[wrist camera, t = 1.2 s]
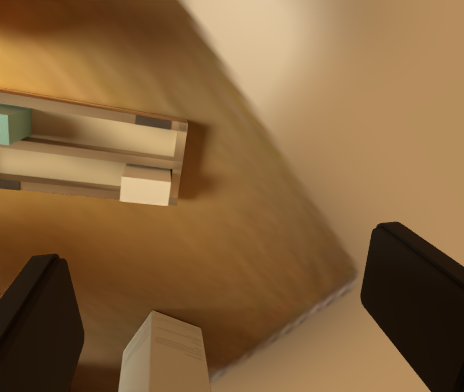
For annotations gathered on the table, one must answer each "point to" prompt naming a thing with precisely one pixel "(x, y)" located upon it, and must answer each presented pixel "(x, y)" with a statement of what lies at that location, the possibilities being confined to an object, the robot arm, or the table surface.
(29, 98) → the wooden shelf rack
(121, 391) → the supplement box
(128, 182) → the ivory tab
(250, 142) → the table surface
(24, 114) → the teal tab
